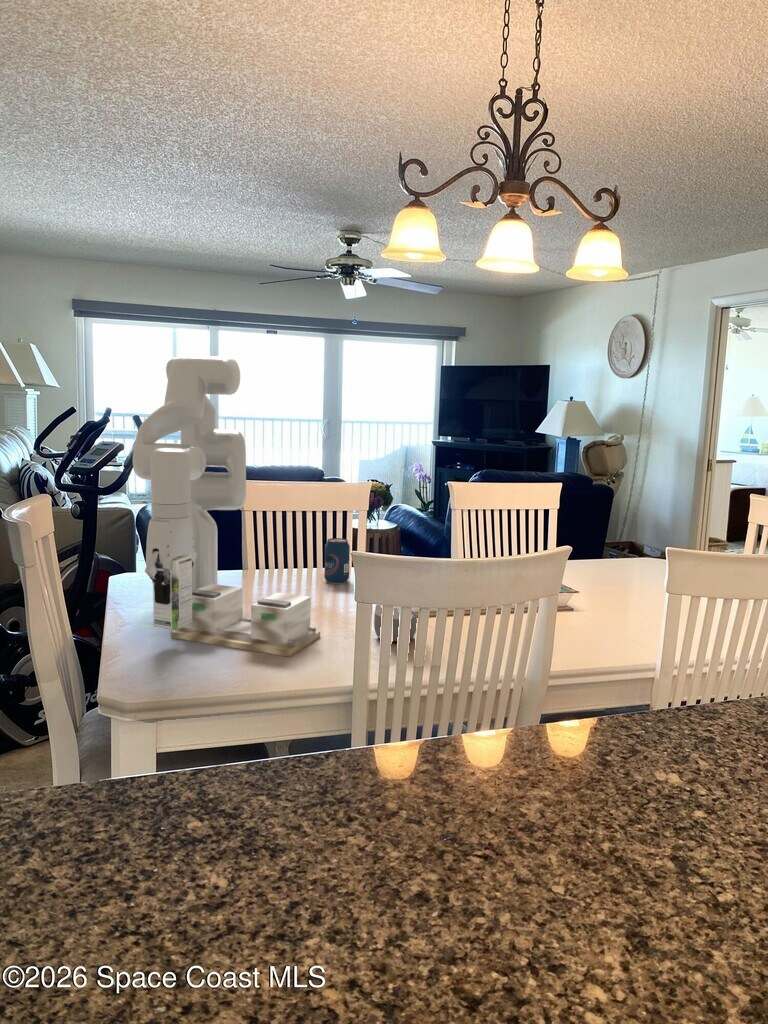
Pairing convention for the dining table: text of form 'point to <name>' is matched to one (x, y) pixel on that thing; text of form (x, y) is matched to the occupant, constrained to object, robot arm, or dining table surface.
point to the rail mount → (249, 621)
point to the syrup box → (176, 597)
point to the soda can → (337, 561)
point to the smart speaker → (395, 623)
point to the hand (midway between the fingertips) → (172, 598)
